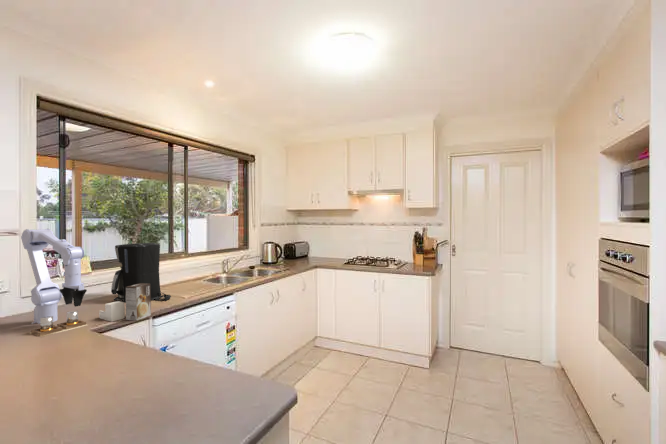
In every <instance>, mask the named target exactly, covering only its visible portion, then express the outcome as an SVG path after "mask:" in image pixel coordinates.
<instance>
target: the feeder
mask: <svg viewBox="0 0 666 444" xmlns="http://www.w3.org/2000/svg"><path fill="white" fill-rule="evenodd" d="M104 305H105V306H104V307H105V309H104V310H99V311H98V315H99V316H98V317H99V319H101V320H104V321H107V322H116V321H120V320H123V319H124V320H125V319H126V302H123V301H113V302H108V303H105V304H104Z"/></svg>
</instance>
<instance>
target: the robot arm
mask: <svg viewBox="0 0 666 444" xmlns="http://www.w3.org/2000/svg"><path fill="white" fill-rule="evenodd" d="M20 239H21V243H22V246H23V248H24V249H25V250H26V251H27V255H28V259H29V261H30V265H31V266H30V267H31V268H32V272H33V277H34V280H35V284H36V285H35V286H34V287H33V288H32V289H31V290H30V295H31V298H30V300H31V303H32V304H33V305H35V307H34V308H33V321H32V322H31V324H38V325H40V318H42V317H46V316H53V323H54V322H57V321H58V320H59V319H58V304H59V303H60V301H61V299H62V298H63V300H64V303H65V305H66V306H67V305H72V304H73V306H74V308H75V307H80V306H82V302H83V298H84V296H85V295H86V293H87V292H88V291H87V289H85V282H82V259H83V258H84V257H85V250H84V249H83V248H82V246H74V245H73V244H72V243H70V242H69V241H67V239H59V238H58V237H57V236H56V235H54V231H53V230H52V229H50V228H38V229H35V228H34V229H29V228H26V229H24V230H23V231H22V233H21V238H20ZM49 245H50V246H52V249H53V251H55V252H56V253H58V254H59V255H60V257H61V260H62V264H63V265H64V283H62V282H61V283H62V284H61V288H60V285H59V284H58V283H56V282H53V281H52V279H51V276H50V272H49V269H48V265H47V263H46V259H45V256H44V252H43V250H44V249H46V248H47V247H48V246H49Z"/></svg>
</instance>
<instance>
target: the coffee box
mask: <svg viewBox="0 0 666 444" xmlns="http://www.w3.org/2000/svg"><path fill="white" fill-rule="evenodd" d="M125 290H126V302H125V320H126V321H128V320H129V321H138V320H139V321H140V320H141V319H145V318H147V317H149V316H152V303H151V301H152V300H151V291H150V284H145V283H139V284H135V285H131V286H127V287H125Z"/></svg>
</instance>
